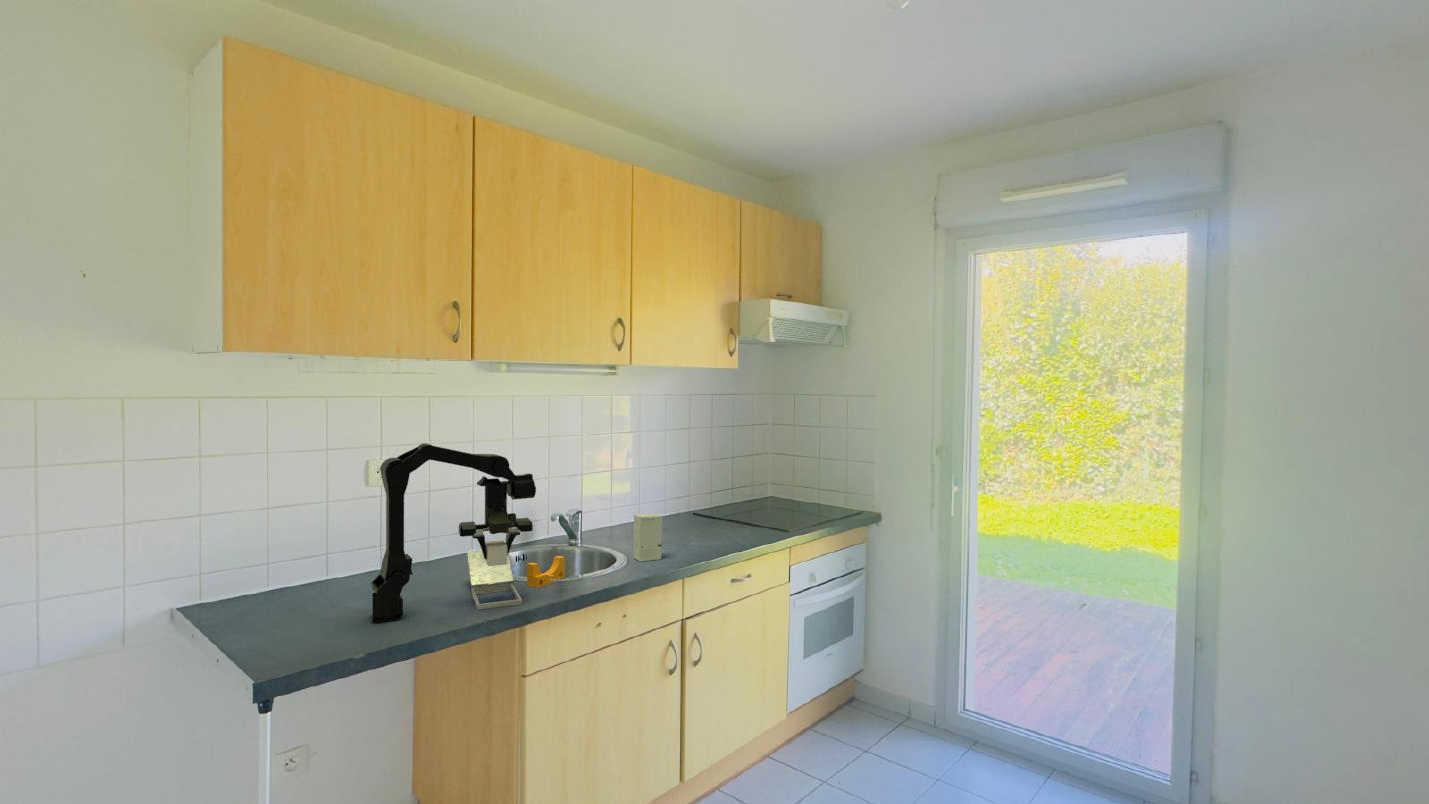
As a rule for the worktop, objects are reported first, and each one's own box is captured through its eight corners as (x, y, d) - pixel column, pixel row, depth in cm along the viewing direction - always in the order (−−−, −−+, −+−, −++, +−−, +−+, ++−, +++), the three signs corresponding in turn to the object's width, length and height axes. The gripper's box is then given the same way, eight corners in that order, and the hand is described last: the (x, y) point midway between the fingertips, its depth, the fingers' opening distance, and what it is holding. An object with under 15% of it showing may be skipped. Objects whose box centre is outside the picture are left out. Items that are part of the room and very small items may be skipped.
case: (477, 609, 183) (476, 575, 183) (467, 581, 208) (467, 551, 208) (521, 604, 188) (521, 570, 188) (507, 577, 213) (507, 547, 212)
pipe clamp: (537, 588, 203) (537, 566, 202) (527, 585, 205) (527, 563, 205) (568, 579, 212) (568, 557, 212) (559, 576, 215) (558, 555, 215)
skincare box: (639, 562, 232) (639, 517, 231) (632, 558, 237) (632, 514, 237) (662, 559, 236) (663, 515, 235) (655, 555, 241) (655, 512, 241)
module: (487, 566, 187) (487, 546, 187) (484, 560, 194) (484, 541, 194) (507, 564, 190) (507, 545, 189) (503, 558, 196) (503, 539, 196)
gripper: (462, 508, 180) (462, 569, 181) (536, 503, 188) (536, 562, 188) (458, 501, 190) (458, 559, 191) (529, 497, 198) (528, 552, 198)
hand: (495, 558), depth 192 cm, fingers closed on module, 5 cm apart
